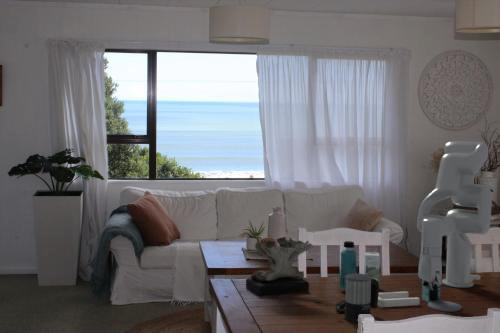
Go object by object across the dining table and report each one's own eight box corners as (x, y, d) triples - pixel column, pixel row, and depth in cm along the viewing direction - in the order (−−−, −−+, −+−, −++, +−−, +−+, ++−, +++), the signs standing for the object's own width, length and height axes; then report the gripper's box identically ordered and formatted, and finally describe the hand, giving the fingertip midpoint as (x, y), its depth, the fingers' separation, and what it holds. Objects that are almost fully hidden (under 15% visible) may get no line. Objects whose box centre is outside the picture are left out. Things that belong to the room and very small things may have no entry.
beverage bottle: (336, 292, 257) (338, 242, 256) (342, 288, 263) (343, 239, 262) (352, 294, 254) (354, 243, 253) (358, 290, 260) (359, 241, 259)
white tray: (406, 297, 251) (406, 291, 251) (419, 305, 241) (419, 298, 241) (369, 299, 247) (369, 293, 247) (380, 307, 237) (380, 300, 237)
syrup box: (377, 287, 266) (378, 252, 265) (379, 290, 260) (380, 255, 259) (363, 286, 267) (364, 251, 266) (364, 290, 261) (365, 254, 260)
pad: (450, 301, 246) (450, 300, 246) (468, 310, 235) (468, 309, 235) (421, 303, 243) (421, 301, 243) (438, 312, 232) (438, 310, 232)
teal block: (433, 298, 251) (434, 285, 250) (440, 301, 246) (440, 288, 245) (421, 298, 250) (422, 285, 249) (427, 302, 245) (428, 289, 244)
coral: (301, 282, 272) (302, 231, 270) (323, 295, 253) (325, 240, 251) (245, 287, 263) (246, 234, 261) (264, 300, 244) (265, 244, 242)
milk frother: (363, 324, 217) (364, 281, 216) (322, 316, 226) (323, 273, 225) (381, 314, 228) (382, 273, 227) (341, 306, 238) (342, 266, 236)
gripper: (411, 246, 254) (409, 292, 255) (433, 255, 237) (432, 304, 238) (429, 246, 255) (427, 291, 257) (452, 255, 239) (450, 303, 240)
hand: (429, 297), depth 248 cm, fingers closed on teal block, 5 cm apart
